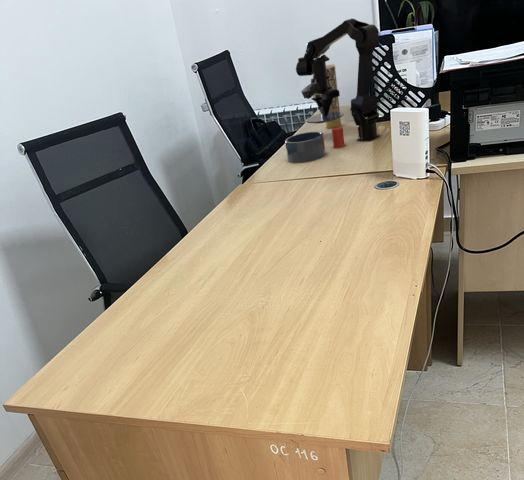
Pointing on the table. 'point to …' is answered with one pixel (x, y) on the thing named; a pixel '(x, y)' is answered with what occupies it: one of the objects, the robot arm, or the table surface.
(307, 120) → the lid
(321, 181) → the table surface
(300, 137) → the pot
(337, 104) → the paper tube
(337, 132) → the cylinder
